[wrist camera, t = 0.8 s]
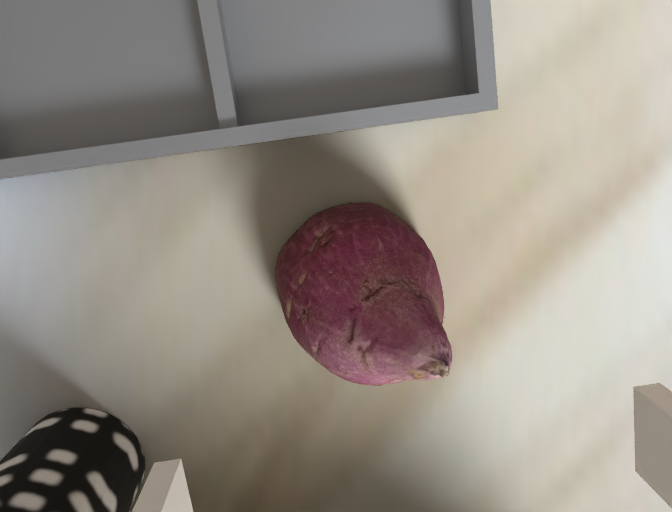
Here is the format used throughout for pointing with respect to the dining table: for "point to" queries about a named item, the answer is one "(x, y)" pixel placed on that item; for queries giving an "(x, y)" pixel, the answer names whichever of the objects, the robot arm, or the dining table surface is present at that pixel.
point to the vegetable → (364, 296)
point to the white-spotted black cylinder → (73, 465)
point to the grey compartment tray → (227, 73)
